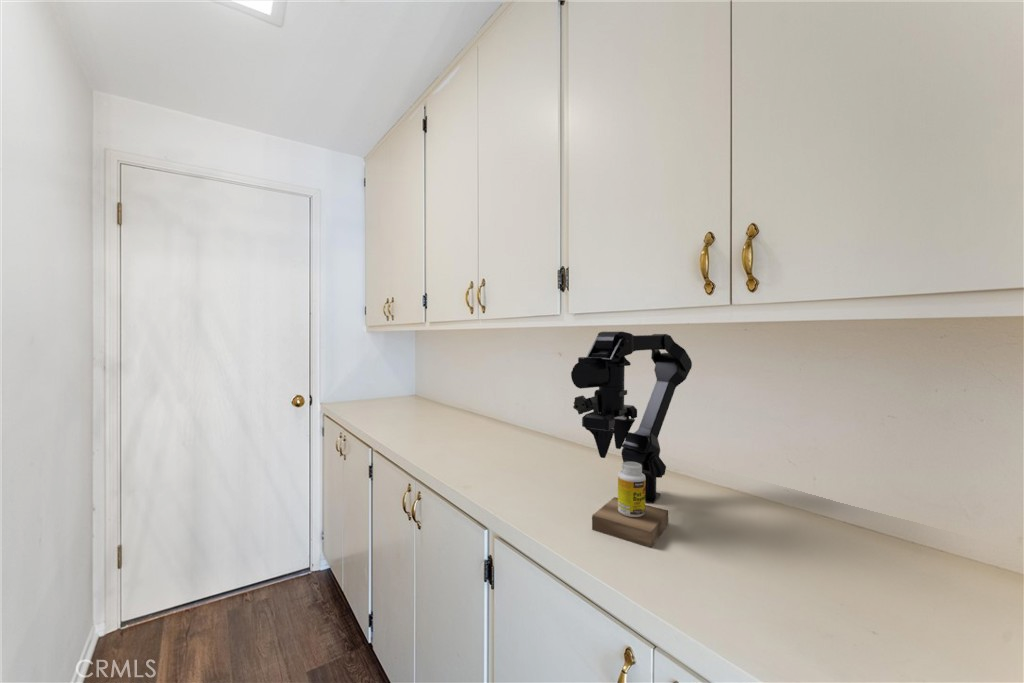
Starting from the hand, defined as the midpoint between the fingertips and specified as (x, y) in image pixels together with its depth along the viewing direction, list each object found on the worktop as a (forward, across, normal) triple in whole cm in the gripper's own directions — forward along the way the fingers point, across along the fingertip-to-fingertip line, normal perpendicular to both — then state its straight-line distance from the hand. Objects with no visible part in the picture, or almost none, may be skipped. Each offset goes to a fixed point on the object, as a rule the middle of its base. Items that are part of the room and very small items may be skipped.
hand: (610, 453), depth 94 cm
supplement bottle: (+10, +6, +7) cm, 14 cm away
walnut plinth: (+13, +6, +7) cm, 16 cm away
